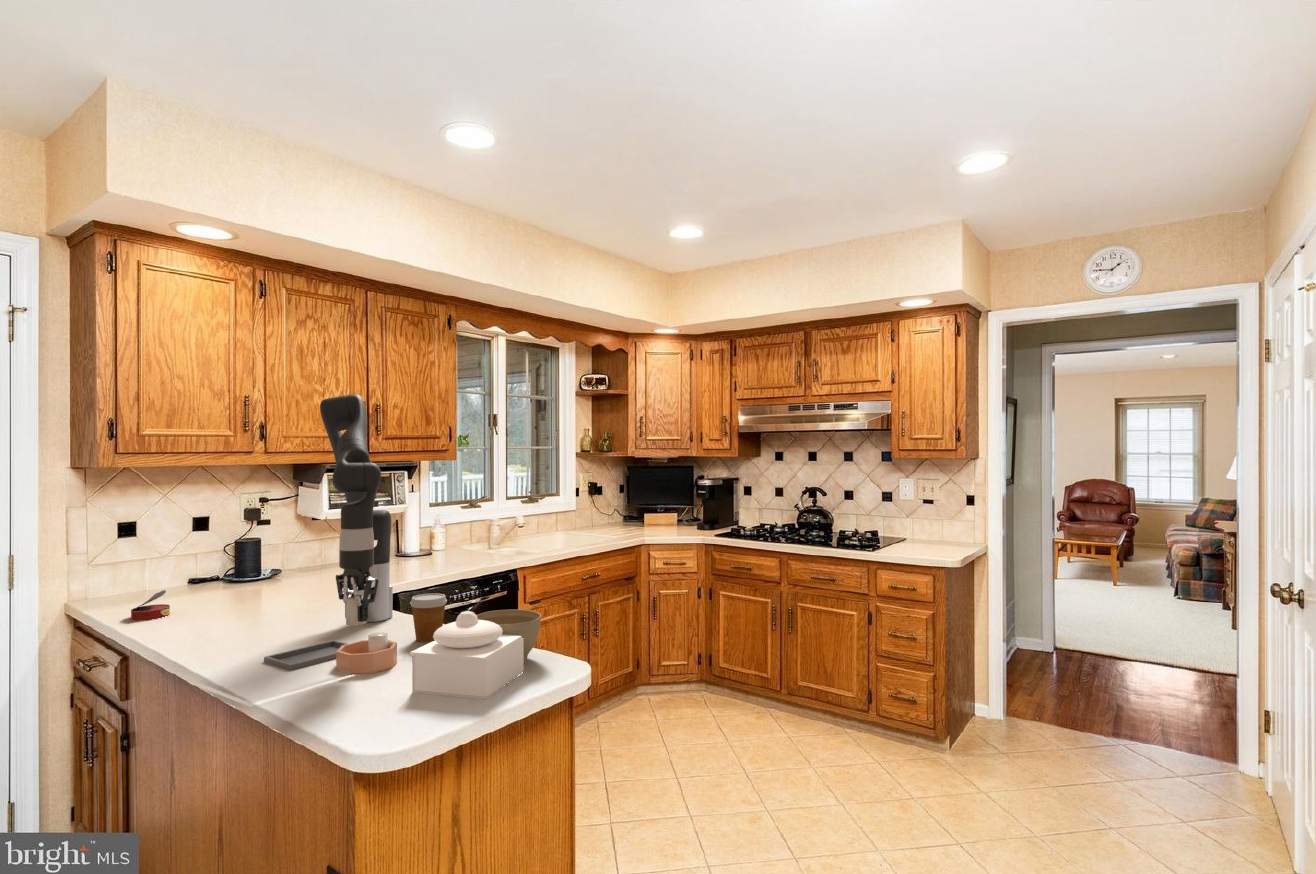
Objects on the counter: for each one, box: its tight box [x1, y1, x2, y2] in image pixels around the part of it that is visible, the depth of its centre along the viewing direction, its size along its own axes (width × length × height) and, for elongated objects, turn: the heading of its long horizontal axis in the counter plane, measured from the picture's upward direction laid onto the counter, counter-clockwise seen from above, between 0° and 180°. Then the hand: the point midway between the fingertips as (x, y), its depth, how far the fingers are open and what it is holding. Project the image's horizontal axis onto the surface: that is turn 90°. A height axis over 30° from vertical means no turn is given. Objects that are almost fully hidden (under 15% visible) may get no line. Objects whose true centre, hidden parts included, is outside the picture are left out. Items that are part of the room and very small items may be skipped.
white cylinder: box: [367, 631, 389, 653], centre depth 169 cm, size 4×4×6 cm
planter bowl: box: [476, 609, 542, 663], centre depth 170 cm, size 16×16×11 cm
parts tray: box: [263, 639, 349, 671], centre depth 172 cm, size 18×12×2 cm, turn 146°
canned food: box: [130, 589, 171, 622], centre depth 218 cm, size 11×10×10 cm
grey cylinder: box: [345, 596, 367, 627], centre depth 165 cm, size 4×4×6 cm
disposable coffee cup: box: [409, 593, 448, 644], centre depth 188 cm, size 10×10×12 cm
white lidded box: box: [409, 610, 525, 700], centre depth 154 cm, size 18×18×16 cm
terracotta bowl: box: [335, 639, 398, 676], centre depth 167 cm, size 13×13×4 cm
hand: (356, 619), depth 165 cm, fingers closed on grey cylinder, 4 cm apart
